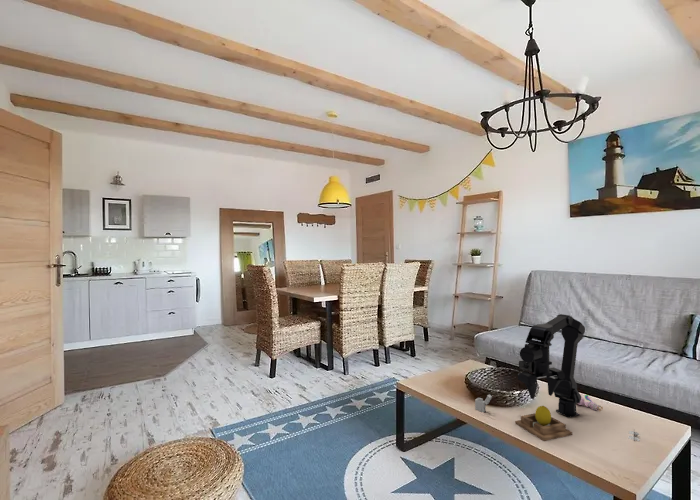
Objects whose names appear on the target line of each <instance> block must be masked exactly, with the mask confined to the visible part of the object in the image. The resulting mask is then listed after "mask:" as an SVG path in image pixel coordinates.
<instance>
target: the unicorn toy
mask: <svg viewBox="0 0 700 500" xmlns="http://www.w3.org/2000/svg"><path fill="white" fill-rule="evenodd" d="M585 400H586V401H585ZM577 404H578V405H579V406H580V405H582V406H584V405H585V406H586V408H590V409H591V410H593V411H597V410H598V411H599V412H601V411H603V408H604V407H603V406H601V405H599V404H597V403H596V402H594V401H592V399H591V398H590V397H589V394H585V395H584V397H583V396H581V401H580V403H576V405H577Z"/></svg>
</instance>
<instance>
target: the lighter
mask: <svg viewBox="0 0 700 500" xmlns="http://www.w3.org/2000/svg"><path fill="white" fill-rule="evenodd" d="M492 398H493V396H492V395H491V394H490V393H489V394H487V395H486V398H485V400H484V398H481V397H477V398H476V399H474V410H475V411H478V412H481V413H486V405H489V403H490V402H491V400H492Z"/></svg>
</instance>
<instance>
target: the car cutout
mask: <svg viewBox="0 0 700 500" xmlns="http://www.w3.org/2000/svg"><path fill="white" fill-rule="evenodd" d="M628 434H629V435H628V440H632V439H633V441H636V440H637V441H636V442H640V438H639V437H638V436H636V435H639V436H640V433H639V432H637V431H634V430H633V431H632V430H628ZM632 434H634V435H632Z"/></svg>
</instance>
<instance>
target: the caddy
mask: <svg viewBox="0 0 700 500" xmlns="http://www.w3.org/2000/svg"><path fill="white" fill-rule="evenodd" d="M514 424H515V425H517V426H518V427H520V428H522V429H524V431H527V433H530V434H531V435H533V436H535V437H536V438H538V439H539V440H541V441H542V442H545V441H546V442H547V441H551V440H555V439H559V438H564V437H565V438H566V437H569V436H573V432H572V431H571V430H569V429H567V425H566V423H564V422H562V421H560V420H558V419H556V418H555V417H552V416H551V422H550V423H549V424H548V425H545V426H542V425H541V424H540V423H538V422H537V420H536V417H535V412H534V413H531V414H530V413H529V414H524V415H520V419H519V420H514Z"/></svg>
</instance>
